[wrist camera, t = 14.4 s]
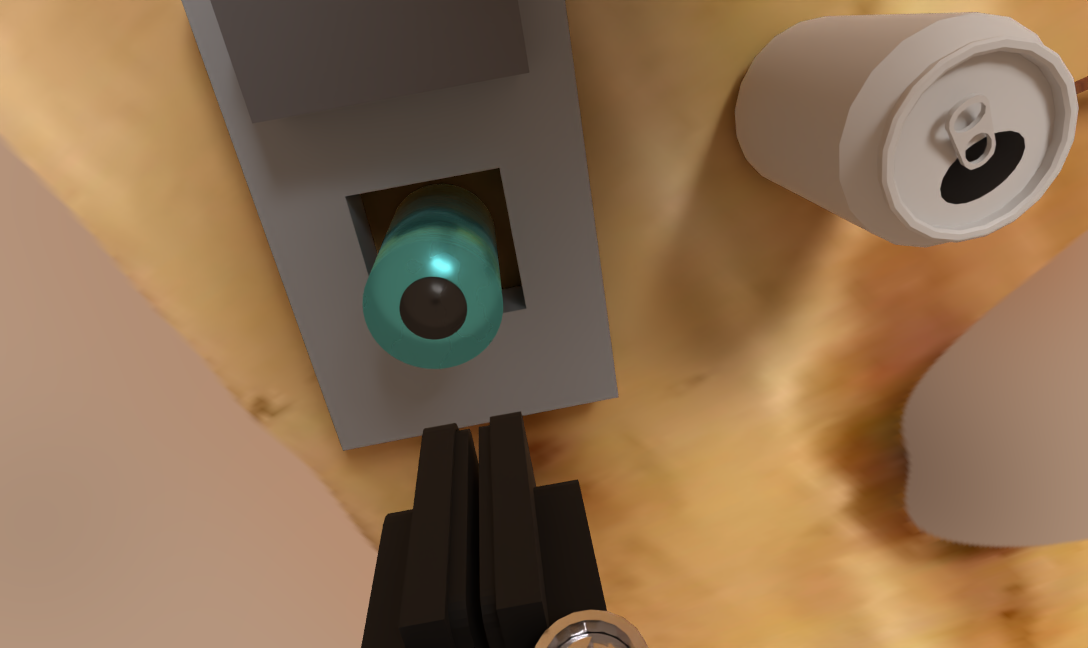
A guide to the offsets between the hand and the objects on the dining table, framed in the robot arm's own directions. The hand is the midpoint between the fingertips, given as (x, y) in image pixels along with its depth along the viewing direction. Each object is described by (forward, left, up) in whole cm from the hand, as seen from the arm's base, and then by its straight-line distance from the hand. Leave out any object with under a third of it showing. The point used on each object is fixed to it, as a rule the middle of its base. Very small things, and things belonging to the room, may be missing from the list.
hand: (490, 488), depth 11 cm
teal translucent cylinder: (+2, -2, -22) cm, 22 cm away
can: (-1, +16, -22) cm, 27 cm away
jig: (0, -2, -22) cm, 22 cm away
